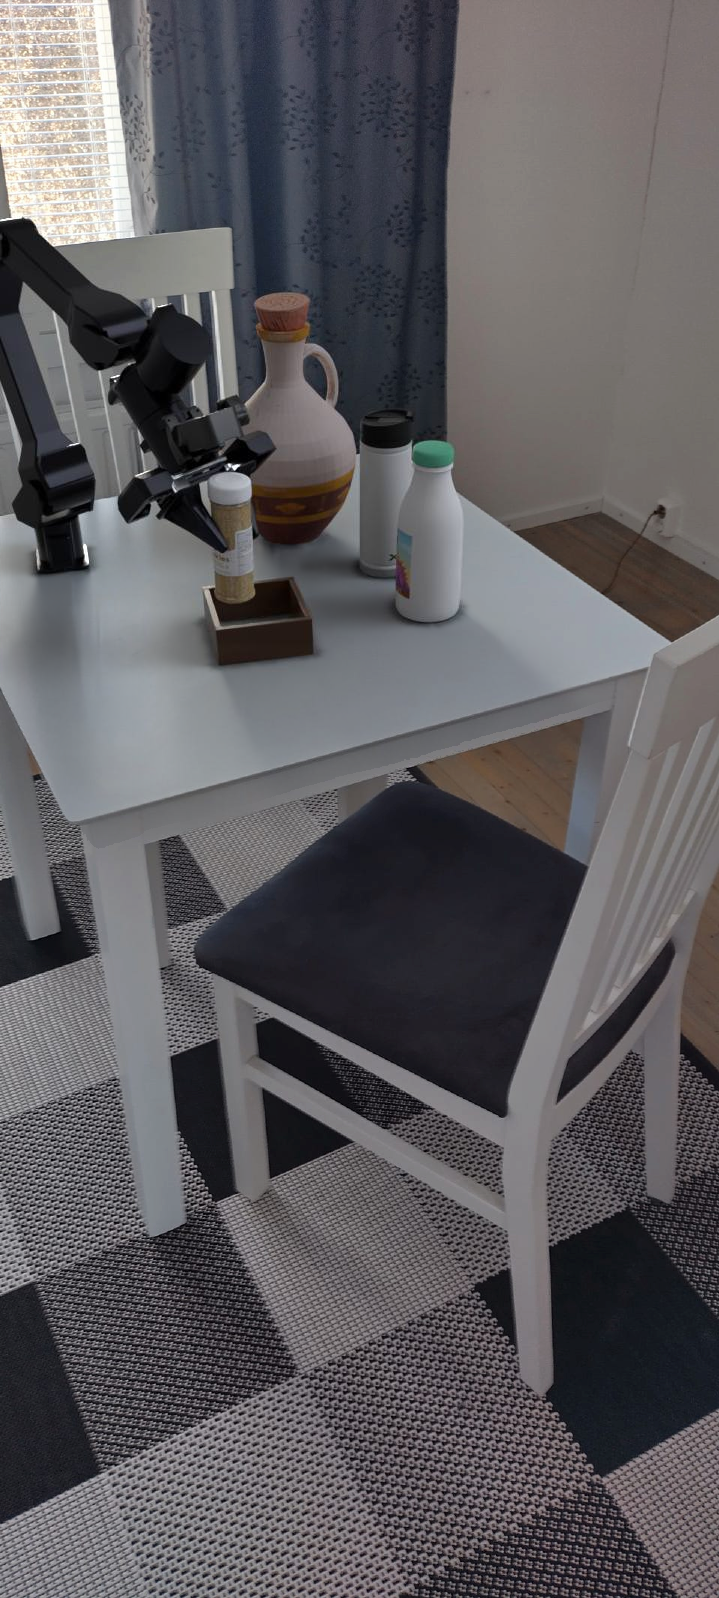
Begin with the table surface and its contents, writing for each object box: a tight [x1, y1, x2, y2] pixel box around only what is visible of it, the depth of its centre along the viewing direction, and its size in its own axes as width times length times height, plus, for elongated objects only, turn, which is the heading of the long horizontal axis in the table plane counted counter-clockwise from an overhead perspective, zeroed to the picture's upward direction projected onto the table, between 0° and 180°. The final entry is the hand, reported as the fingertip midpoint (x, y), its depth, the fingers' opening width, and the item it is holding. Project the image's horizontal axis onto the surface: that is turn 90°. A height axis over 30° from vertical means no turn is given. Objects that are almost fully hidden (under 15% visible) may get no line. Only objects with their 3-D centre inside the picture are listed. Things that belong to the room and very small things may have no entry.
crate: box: [201, 576, 314, 667], centre depth 135 cm, size 11×11×4 cm
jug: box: [218, 291, 357, 546], centre depth 151 cm, size 20×18×30 cm
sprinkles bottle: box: [206, 472, 255, 604], centre depth 126 cm, size 5×5×13 cm
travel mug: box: [359, 408, 417, 579], centre depth 145 cm, size 6×7×20 cm
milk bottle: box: [394, 440, 464, 623], centre depth 136 cm, size 8×8×20 cm
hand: (240, 544), depth 125 cm, fingers closed on sprinkles bottle, 4 cm apart
